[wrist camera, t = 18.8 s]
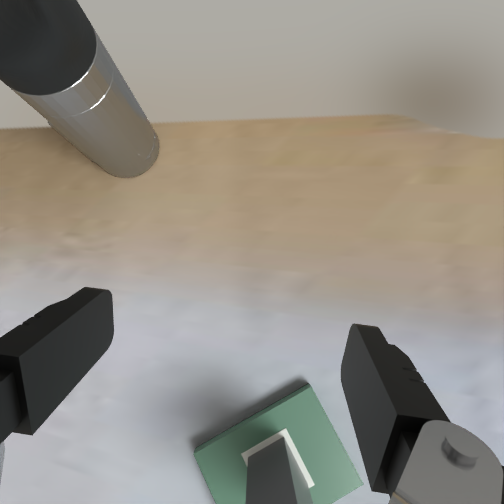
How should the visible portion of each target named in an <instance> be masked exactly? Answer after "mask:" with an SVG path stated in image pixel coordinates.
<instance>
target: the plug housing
mask: <svg viewBox="0 0 504 504" xmlns="http://www.w3.org/2000/svg"><path fill="white" fill-rule="evenodd" d="M245 504H313V501H312V497H311V494H310V490H309V487H308V483H307V481H306V479H305V477H304V475H303V473H302V471H301V469H300V467H299V465H298V463H297V461H296V459H295V457H294V456H293V454H292V452H291V450H290V448H289V446H288V444H287V442H286V440H285V438H284V437H282V438H280V439H279V440H277V441H275V442H273V443H272V444H270V445H268V446H266V447H265V448H263V449H261V450H260V451H258V452H256V453H254V454H253V455H251V456H249V457H248V466H247V484H246V502H245Z"/></svg>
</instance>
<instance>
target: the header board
mask: <svg viewBox="0 0 504 504" xmlns="http://www.w3.org/2000/svg"><path fill="white" fill-rule="evenodd" d="M282 437H284V438H285V440H286V442H287V444H288V446H289V448H290V450H291V452H292V454H293V456H294V457H295V459H296V461H297V463H298V465H299V467H300V469H301V471H302V473H303V475H304V477H305V479H306V481H307V483H308V487H309V490H310V494H311V497H312V501H313V504H332V503H333V502H335V501H337V500H338V499H340V498H342V497H343V496H345V495H347V494H348V493H350V492H352V491H353V490H355V489H357V488H358V487H360V486H362V485H363V482H362V480H361V478H360V477H359V475H358V473H357V471H356V469H355V467H354V465H353V463H352V462H351V460H350V458H349V456H348V454H347V452H346V450H345V449H344V447H343V445H342V443H341V441H340V439H339V437H338V435H337V434H336V432H335V430H334V428H333V426H332V424H331V422H330V421H329V419H328V417H327V415H326V413H325V411H324V409H323V407H322V406H321V404H320V402H319V400H318V398H317V396H316V394H315V393H314V391H313V389H312V387H311V385H310V384H307V385H305V386H304V387H302V388H300V389H298V390H297V391H295V392H293V393H291V394H290V395H288V396H286V397H284V398H283V399H281V400H279V401H277V402H276V403H274V404H272V405H270V406H269V407H267V408H265V409H263V410H262V411H260V412H258V413H256V414H254V415H253V416H251V417H249V418H247V419H246V420H244V421H242V422H240V423H239V424H237V425H235V426H233V427H232V428H230V429H228V430H226V431H225V432H223V433H221V434H219V435H218V436H216V437H214V438H212V439H211V440H209V441H207V442H205V443H204V444H202V445H200V446H198V447H197V448H196V449H195V451H194V456H195V459H196V461H197V463H198V465H199V467H200V470H201V472H202V474H203V476H204V478H205V481H206V483H207V485H208V487H209V489H210V492H211V494H212V496H213V498H214V500H215V503H216V504H245V502H246V484H247V466H248V457H249V456H251V455H253V454H254V453H256V452H258V451H260V450H261V449H263V448H265V447H266V446H268V445H270V444H272V443H273V442H275V441H277V440H279V439H280V438H282Z"/></svg>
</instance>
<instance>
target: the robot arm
mask: <svg viewBox="0 0 504 504" xmlns="http://www.w3.org/2000/svg"><path fill="white" fill-rule="evenodd" d="M0 80H1V81H3V82H4V83H5V84H6V85H7V86H9V87H10V88H11V89H12V90H14V92H15V93H17V94H18V95H19V96H20V97H21V98H22V99H24V100H25V101H26V102H27V103H28V104H29V105H30V106H32V107H33V108H34V109H35V110H37V111H38V112H39V113H40V114H41V115H42V116H43V117H44V118H46V119H47V120H48V123H49V125H50V126H51V127H52V128H54V129H55V130H56V131H57V132H58V133H59V134H61V135H62V136H63V137H64V138H65V139H67V140H68V141H69V142H70V143H71V144H72V145H74V146H75V147H76V148H77V149H78V150H79V151H81V152H82V153H83V154H84V155H85V156H86V157H88V158H89V159H90V160H91V161H92V162H96V163H97V164H98V165H99V166H100V167H102V168H103V169H104V170H105V171H106V172H108V173H109V174H111V175H113V176H116V177H121V178H130V177H135V176H138V175H140V174H142V173H144V172H145V171H147V170H148V169H149V168H150V167H151V166H152V165H153V163H154V162H155V160H156V158H157V156H158V153H159V140H158V136H157V134H156V133H155V131H154V129H153V127H152V126H151V124H150V122H149V121H148V119H147V117H146V115H145V114H144V112H143V110H142V108H141V107H140V105H139V103H138V102H137V100H136V98H135V97H134V95H133V93H132V92H131V90H130V88H129V87H128V85H127V83H126V82H125V80H124V78H123V76H122V75H121V73H120V71H119V70H118V68H117V67H116V65H115V63H114V61H113V60H112V58H111V56H110V55H109V53H108V51H107V50H106V48H105V46H104V45H103V43H102V41H101V40H100V38H99V36H98V35H97V33H96V31H95V30H94V28H93V26H92V25H91V23H90V21H89V20H88V18H87V17H86V15H85V13H84V12H83V10H82V8H81V7H80V5H79V4H78V2H77V0H0ZM113 335H114V322H113V302H112V294H111V292H110V291H109V290H105V289H98V288H90V287H84V288H82V289H81V290H79V291H78V292H76V293H75V294H73V295H72V296H70V297H69V298H68V299H65V300H63V301H60V302H57V303H55V304H52V305H50V306H47V307H46V308H44V309H43V310H41V311H40V312H38V313H37V314H35V315H34V317H31V318H29V319H28V320H26V321H25V322H23V324H22V325H19V326H17V327H16V328H14V329H12V330H11V331H9V332H8V333H6V334H5V335H3V336H2V337H0V483H1V476H2V469H3V461H4V454H5V446H4V440H5V439H6V438H7V437H8V436H9V435H10V434H11V433H12V432H14V433H21V434H27V435H33V434H34V433H35V432H36V431H37V429H38V428H39V427H40V426H41V425H42V424H43V423H44V421H45V420H46V419H47V418H48V417H49V416H50V415H51V413H52V412H53V411H54V410H55V409H56V408H57V407H58V405H59V404H60V403H61V402H62V401H63V400H64V399H65V397H66V396H67V395H68V394H69V393H70V392H71V391H72V390H73V388H74V387H75V386H76V385H77V384H78V383H79V382H80V380H81V379H82V378H83V377H84V376H85V375H86V374H87V372H88V371H89V370H90V369H91V368H92V367H93V366H94V364H95V363H96V362H97V361H98V360H99V359H100V358H101V356H102V355H103V354H104V353H105V352H106V351H107V349H108V348H109V346H110V344H111V342H112V339H113ZM416 370H417V369H416V368H415V366H414V365H413V363H412V362H411V360H410V358H409V357H408V356H407V355H406V354H405V353H403V352H402V351H401V350H400V349H399V348H398V347H396V346H395V345H391V344H388V343H387V341H386V339H385V337H384V336H383V334H382V332H381V331H380V329H379V328H378V327H376V326H368V325H361V324H352V326H351V328H350V331H349V335H348V339H347V344H346V348H345V352H344V356H343V360H342V365H341V382H342V387H343V390H344V394H345V397H346V401H347V405H348V408H349V412H350V415H351V419H352V423H353V426H354V430H355V433H356V437H357V440H358V444H359V448H360V451H361V455H362V458H363V462H364V466H365V469H366V473H367V476H368V480H369V484H370V487H371V491H374V492H380V493H386V494H389V496H390V501H389V503H388V504H504V466H502V465H501V464H500V462H499V460H498V458H497V457H496V455H495V454H494V453H493V451H492V450H491V449H490V448H489V447H488V446H487V445H486V444H485V443H484V442H483V441H482V440H480V439H479V438H478V437H477V436H475V435H474V434H472V433H471V432H469V431H468V430H466V429H464V428H462V427H460V426H458V425H456V424H453V423H451V422H450V420H449V419H448V417H447V416H446V414H445V413H444V411H443V409H442V408H441V406H440V405H439V403H438V402H437V400H436V399H435V397H434V396H433V394H432V392H431V391H430V389H429V388H428V386H427V385H426V383H424V380H423V379H422V377H421V375H420V374H419V372H417V371H416Z"/></svg>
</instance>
